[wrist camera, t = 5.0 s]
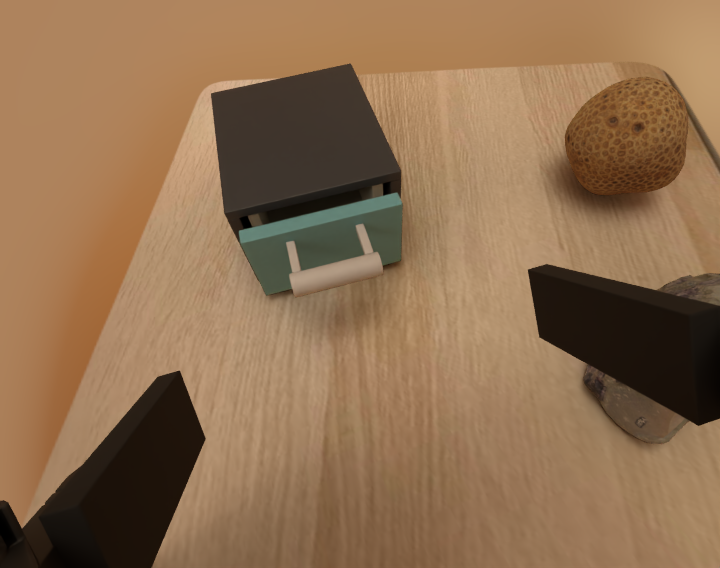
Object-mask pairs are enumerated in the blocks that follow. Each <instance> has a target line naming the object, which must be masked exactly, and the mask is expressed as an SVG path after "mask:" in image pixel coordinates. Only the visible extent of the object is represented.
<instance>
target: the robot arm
mask: <svg viewBox="0 0 720 568" xmlns="http://www.w3.org/2000/svg"><path fill="white" fill-rule="evenodd" d="M528 274H529V279H530V285H531V291H532V297H533V303H534V309H535V314H536V320H537V326H538V332H539V337H540V338H542V339H544V340H545V341H547V342H549V343H551V344H553V345H554V346H556V347H558V348H560V349H562V350H563V351H565V352H567V353H569V354H571V355H572V356H574V357H576V358H578V359H580V360H581V361H583V362H585V363H587V364H589V365H590V366H592V367H594V368H596V369H598V370H599V371H601V372H603V373H605V374H606V375H608V376H610V377H612V378H614V379H615V380H617V381H619V382H621V383H623V384H624V385H626V386H628V387H630V388H632V389H633V390H635V391H637V392H639V393H641V394H642V395H644V396H646V397H648V398H650V399H651V400H653V401H655V402H657V403H659V404H660V405H662V406H664V407H666V408H668V409H669V410H671V411H673V412H675V413H677V414H678V415H680V416H682V417H684V418H686V419H687V420H689V421H691V422H693V423H695V424H696V425H698V426H699V425H702V424H705V423H708V422H711V421H714V420H717V419H720V306H719V305H715V304H711V303H707V302H702V301H698V300H694V299H690V298H686V297H682V296H677V295H673V294H669V293H665V292H661V291H656V290H652V289H648V288H644V287H640V286H636V285H631V284H627V283H623V282H619V281H615V280H611V279H606V278H602V277H598V276H594V275H590V274H586V273H581V272H577V271H573V270H569V269H565V268H561V267H556V266H552V265H548V264H546V265H542V266H539V267H535V268H532V269H528ZM205 439H206V438H205V436H204V433H203V430H202V428H201V425H200V423H199V420H198V417H197V415H196V412H195V409H194V407H193V404H192V402H191V399H190V396H189V394H188V391H187V388H186V386H185V383H184V381H183V378H182V375H181V373H180V371H176V372H173V373H169V374H166V375H162V376H159V377H157V378H156V380H155V381H154V382H153V383H152V384H151V385H150V387H149V388H148V389H147V390H146V391H145V392H144V394H143V395H142V396H141V397H140V398H139V399H138V401H137V402H136V403H135V404H134V405H133V406H132V408H131V409H130V410H129V411H128V412H127V413H126V415H125V416H124V417H123V418H122V419H121V421H120V422H119V423H118V424H117V425H116V426H115V428H114V429H113V430H112V431H111V432H110V433H109V435H108V436H107V437H106V438H105V439H104V440H103V442H102V443H101V444H100V445H99V446H98V447H97V449H96V450H95V451H94V452H93V453H92V454H91V456H90V457H89V458H88V459H87V460H86V462H85V463H84V464H83V465H82V466H81V467H79V468H78V469H77V470H76V471H74V472H73V473H72V474H71V475H69V476H68V477H67V478H66V479H65V480H64V482H63V483H62V484H61V485H60V486H59V487H58V488H57V490H56V493H54V494H52V495H51V497H50V498H49V499H48V500H47V501H46V502H45V505H44V506H42V507H41V508H40V509H39V510H38V511H37V513H36V514H35V515H34V516H33V517H32V518H31V519H30V521H29V522H28V523H27V524H26V525H25V526H24V527H23V529H22V528H21V526H20V524H19V522H18V521H17V518H16V517H15V515H14V513H13V511H12V509H11V507H10V505H9V503H8V502H6V501H4V500H3V501H0V568H151V567H152V565H153V563H154V560H155V558H156V555H157V553H158V551H159V548H160V546H161V544H162V541H163V539H164V536H165V534H166V532H167V529H168V527H169V525H170V522H171V520H172V517H173V515H174V513H175V510H176V508H177V506H178V503H179V501H180V498H181V496H182V494H183V491H184V489H185V487H186V484H187V482H188V479H189V477H190V475H191V472H192V470H193V468H194V465H195V463H196V460H197V458H198V456H199V453H200V451H201V449H202V446H203V444H204V441H205Z"/></svg>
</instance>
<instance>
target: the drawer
mask: <svg viewBox="0 0 720 568" xmlns="http://www.w3.org/2000/svg"><path fill="white" fill-rule="evenodd" d="M402 207H403V204H402V201H401V199H400V197H399V195H398V193H393V194H388V195H384V196H383V183H382V184H378V185H374V186H370V187H366V188H361V189H357V190H353V191H349V192H345V193H341V194H336V195H332V196H328V197H324V198H320V199H316V200H311V201H307V202H303V203H299V204H295V205H291V206H286V207H282V208H278V209H274V210H270V211H266V212H261V213H257V214H253V215H249V216H248V219H249V221H250V223H251V225H252V228H248V229H244V230H240V231H239V237H240V244H241V246H242V248H243V250H244V252H245V254H246V256H247V258H248V260H249V262H250V264H251V266H252V268H253V270H254V272H255V274H256V276H257V278H258V280H259V282H260V284H261V286H262V288H263V290H264V292H265V294H266V295H270V294H274V293H278V292H282V291H286V290H289V289H292V290H293V293H294V296H295V297H300V296H303V295H307V294H311V293H315V292H319V291H323V290H327V289H330V288H334V287H338V286H342V285H346V284H350V283H354V282H357V281H361V280H365V279H369V278H373V277H377V276H381V275H383V265H387V264H390V263H394V262H398V261H401V243H402Z"/></svg>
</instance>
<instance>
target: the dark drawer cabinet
mask: <svg viewBox="0 0 720 568" xmlns="http://www.w3.org/2000/svg"><path fill="white" fill-rule="evenodd" d="M211 98H212V107H213V116H214V125H215V134H216V143H217V152H218V161H219V170H220V179H221V188H222V197H223V206H224V213H225V215H226V217H227V219H228V222H229V224H230V226H231V228H232V230H233V232H234V234H235V236H236V238H237V239H238V241H239V243H240V237H239V231H240V230H244V229H248V228H252V225H251V223H250V221H249V219H248V216H249V215H253V214H257V213H261V212H266V211H270V210H274V209H278V208H282V207H286V206H291V205H295V204H299V203H303V202H307V201H311V200H316V199H320V198H324V197H328V196H332V195H336V194H341V193H345V192H349V191H353V190H357V189H361V188H366V187H370V186H374V185H378V184H382V183H383V196H384V195H388V194H393V193H398V195H399V197H400V199H401V170H400V167H399V165H398V163H397V161H396V159H395V157H394V155H393V153H392V150H391V148H390V146H389V144H388V142H387V140H386V138H385V135H384V133H383V131H382V129H381V127H380V125H379V123H378V120H377V118H376V116H375V114H374V112H373V110H372V108H371V105H370V103H369V101H368V99H367V97H366V95H365V93H364V91H363V88H362V86H361V84H360V82H359V80H358V78H357V76H356V74H355V71H354V69H353V67H352V65H351V64H347V65H342V66H337V67H333V68H328V69H323V70H319V71H313V72H309V73H304V74H299V75H295V76H290V77H285V78H281V79H276V80H271V81H267V82H262V83H257V84H253V85H248V86H243V87H239V88H234V89H229V90H224V91H220V92H215V93H211ZM240 245H241V244H240ZM241 247H242V246H241ZM242 249H243V248H242ZM243 251H244V250H243ZM244 253H245V252H244ZM245 255H246V254H245ZM246 257H247V256H246ZM247 259H248V258H247ZM248 261H249V260H248ZM249 263H250V262H249ZM250 265H251V264H250ZM251 267H252V266H251ZM252 269H253V268H252ZM253 271H254V270H253ZM254 273H255V272H254ZM255 275H256V274H255ZM256 277H257V276H256ZM257 279H258V278H257ZM258 281H259V280H258Z"/></svg>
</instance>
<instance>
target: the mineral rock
mask: <svg viewBox="0 0 720 568" xmlns="http://www.w3.org/2000/svg"><path fill="white" fill-rule="evenodd" d="M656 291H661V292H665V293H669V294H673V295H677V296H682V297H686V298H690V299H694V300H698V301H702V302H707V303H711V304H715V305H719V306H720V274H713V273H708V274H703V275H700V276H695V277H692V276H690V275H689V276H685V277H681V278H679V279H677V280H675V281H672V282H670V283H668V284H666V285H664V286H663V287H662V288H660V289H658V290H656ZM584 382H585V384H586V386H587V387H588V388H589V389H590V390H591V391H592V392H593V393H594V394H595V395H596V396H597V397H598V399H599V401H600V403H601V405H602V406H603V408H604V410H605V411H606V413H607V414H608V415H609V416H610V417H611V418H612V419H613V420H614V422H616V423H617V424H618V425H619V426H620V427H622V428H623V429H624V430H626V431H627V432H629V433H630V434H632V435H633V436H635V437H637V438H638V439H640V440H642V441H644V442H648V443H654V444H663V443H666V442H669V441H670V439H671V438H672V437H673V436H674V435H675V434H676V433H677V432H678V431H679V430H680V429H681V428H682V427H683V426H684V425H685V424H686V423H687V422H688V421H689V420H687V419H686V418H684V417H682V416H680V415H678V414H677V413H675V412H673V411H671V410H669V409H668V408H666V407H664V406H662V405H660V404H659V403H657V402H655V401H653V400H651V399H650V398H648V397H646V396H644V395H642V394H641V393H639V392H637V391H635V390H633V389H632V388H630V387H628V386H626V385H624V384H623V383H621V382H619V381H617V380H615V379H614V378H612V377H610V376H608V375H606V374H605V373H603V372H601V371H599V370H598V369H596V368H594V367H592V366H590V365H589V364H588V365H587V371H586V374H585V376H584Z"/></svg>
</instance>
